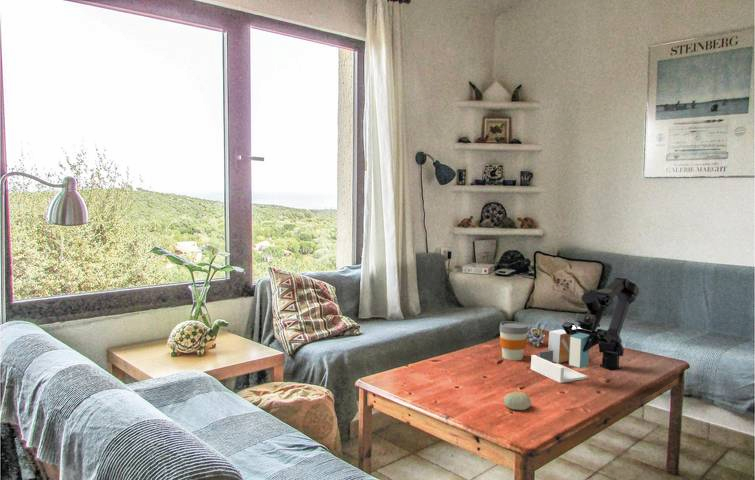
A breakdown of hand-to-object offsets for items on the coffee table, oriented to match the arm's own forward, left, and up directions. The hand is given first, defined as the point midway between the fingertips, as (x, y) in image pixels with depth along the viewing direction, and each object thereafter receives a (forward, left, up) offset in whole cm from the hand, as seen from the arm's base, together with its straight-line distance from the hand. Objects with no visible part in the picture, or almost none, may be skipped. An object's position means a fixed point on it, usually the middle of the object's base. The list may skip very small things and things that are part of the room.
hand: (577, 349), depth 224 cm
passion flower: (-19, -50, -14) cm, 56 cm away
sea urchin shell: (+37, +12, -14) cm, 41 cm away
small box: (-14, -25, -14) cm, 32 cm away
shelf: (-1, -11, -13) cm, 17 cm away
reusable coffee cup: (+3, -36, -14) cm, 39 cm away
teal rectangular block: (-1, 0, -7) cm, 7 cm away
